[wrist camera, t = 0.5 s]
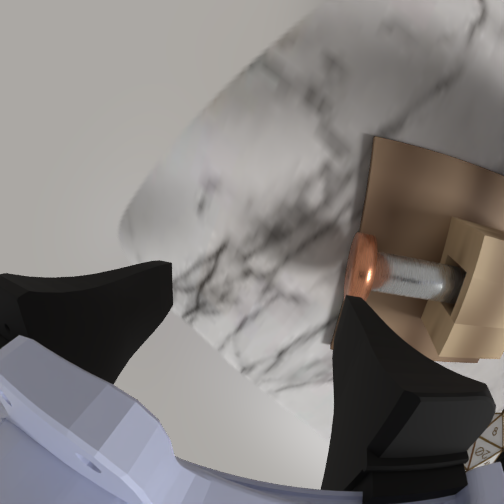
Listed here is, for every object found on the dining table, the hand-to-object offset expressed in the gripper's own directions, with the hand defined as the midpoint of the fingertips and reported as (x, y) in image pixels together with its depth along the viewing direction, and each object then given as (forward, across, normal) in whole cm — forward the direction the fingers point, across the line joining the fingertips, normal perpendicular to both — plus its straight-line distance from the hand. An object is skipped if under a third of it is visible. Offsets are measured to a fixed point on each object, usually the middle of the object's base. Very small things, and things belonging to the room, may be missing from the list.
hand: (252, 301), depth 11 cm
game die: (+10, -26, +17) cm, 33 cm away
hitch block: (+9, -13, 0) cm, 16 cm away
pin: (+9, -10, 0) cm, 13 cm away
